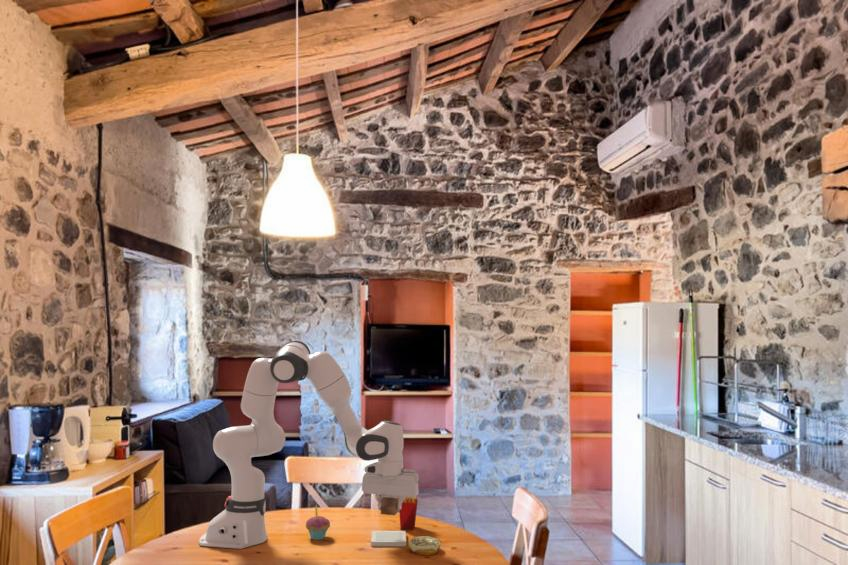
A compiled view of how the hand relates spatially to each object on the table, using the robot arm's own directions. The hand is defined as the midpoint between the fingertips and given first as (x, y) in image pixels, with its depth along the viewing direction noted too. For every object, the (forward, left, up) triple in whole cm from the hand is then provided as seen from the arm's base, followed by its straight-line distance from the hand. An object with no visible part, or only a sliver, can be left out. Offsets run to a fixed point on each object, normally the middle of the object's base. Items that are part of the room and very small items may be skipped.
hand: (389, 508), depth 229 cm
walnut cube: (0, 0, -2) cm, 2 cm away
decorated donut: (+12, -9, -12) cm, 19 cm away
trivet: (0, +1, -11) cm, 11 cm away
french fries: (+6, +15, -11) cm, 19 cm away
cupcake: (-25, +4, -11) cm, 28 cm away
